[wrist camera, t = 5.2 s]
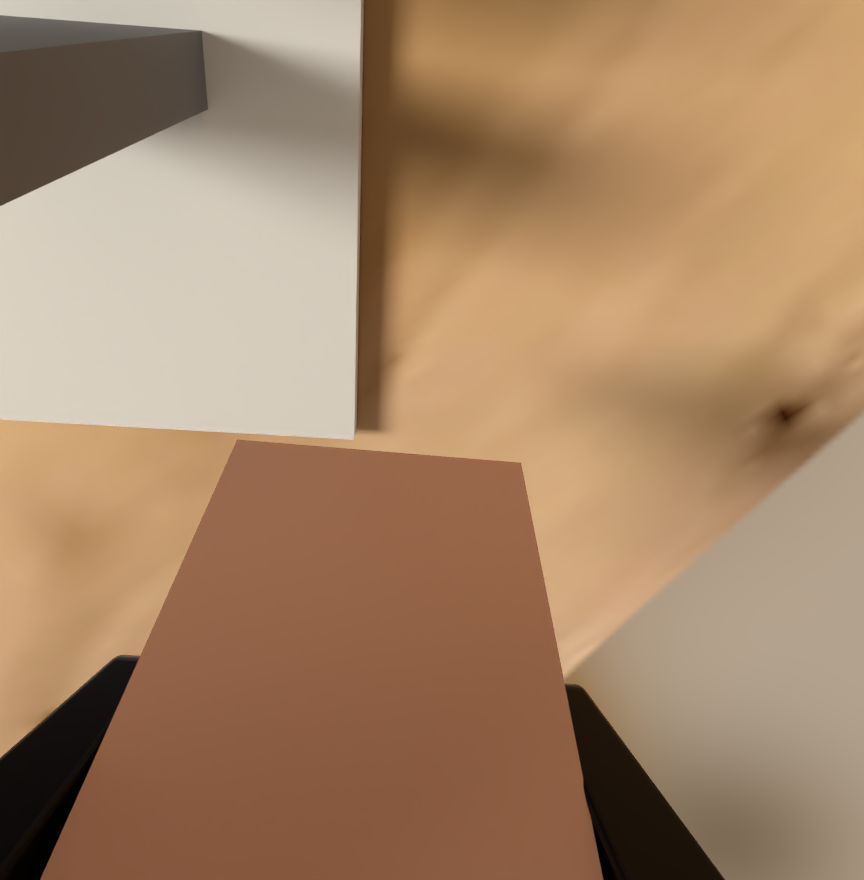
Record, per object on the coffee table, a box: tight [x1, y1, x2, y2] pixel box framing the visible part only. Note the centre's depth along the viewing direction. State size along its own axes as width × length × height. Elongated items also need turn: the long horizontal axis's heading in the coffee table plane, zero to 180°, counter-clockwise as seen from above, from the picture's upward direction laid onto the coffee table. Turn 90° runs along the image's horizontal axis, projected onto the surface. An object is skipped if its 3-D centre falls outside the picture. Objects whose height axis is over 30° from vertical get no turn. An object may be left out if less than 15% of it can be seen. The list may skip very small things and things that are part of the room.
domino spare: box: [40, 440, 603, 880], centre depth 9 cm, size 2×5×10 cm, turn 85°
